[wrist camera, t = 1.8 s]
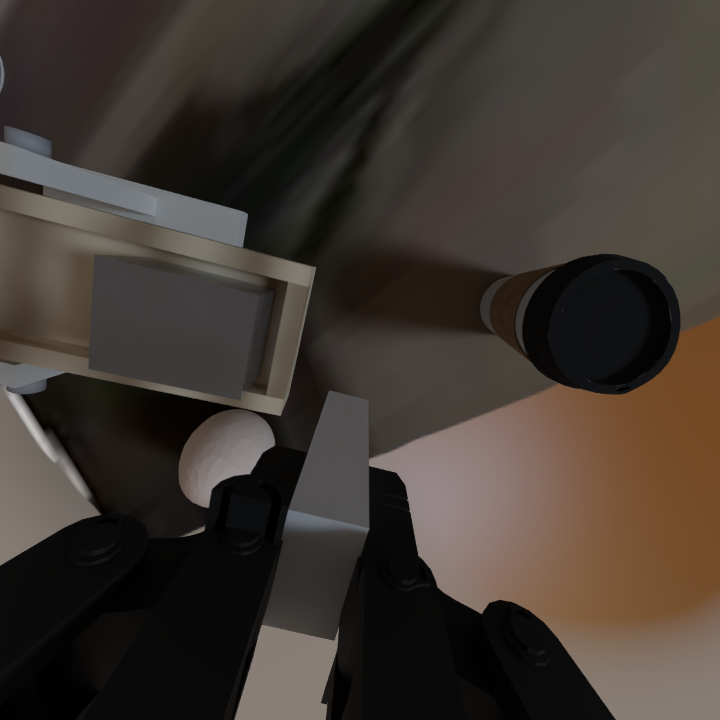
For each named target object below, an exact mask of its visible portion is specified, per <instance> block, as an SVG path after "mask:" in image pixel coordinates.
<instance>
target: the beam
mask: <svg viewBox="0 0 720 720" xmlns="http://www.w3.org/2000/svg"><path fill="white" fill-rule="evenodd" d="M94 255H112V256H130V257H148V258H154V259H158V260H162V261H166V262H170V263H174V264H178V265H182V266H186V267H190V268H194V269H197V270H201V271H205V272H209V273H213V274H217V275H221V276H225V277H229V278H233V279H237V280H241V281H245V282H249V283H253V284H257V285H261V286H265V287H269V288H273V289H276V295H275V300H274V305H273V310H272V316H271V321H270V326H269V332H268V337H267V342H266V347H265V353H264V358H263V363H262V368H261V374H260V375H259V376H258V378H257V379H256V380H255V382H254V383H253V384H252V386H251V387H250V388H249V390H248V391H247V392H246V394H245V395H244V396H243V398H242V399H241V401H240V400H235V399H230V398H225V397H221V396H216V395H211V394H206V393H201V392H196V391H192V390H187V389H182V388H177V387H172V386H167V385H163V384H158V383H153V382H148V381H143V380H138V379H134V378H129V377H124V376H119V375H114V374H109V373H105V372H100V371H95V370H90V369H88V363H89V345H90V327H91V308H92V290H93V272H94ZM315 270H316V267H313V266H310V265H306V264H302V263H298V262H294V261H291V260H287V259H283V258H279V257H275V256H272V255H268V254H264V253H260V252H256V251H253V250H249V249H245V248H241V247H237V246H234V245H230V244H226V243H222V242H218V241H215V240H211V239H207V238H203V237H199V236H196V235H192V234H188V233H184V232H180V231H177V230H173V229H169V228H165V227H161V226H158V225H154V224H150V223H146V222H142V221H139V220H135V219H131V218H127V217H123V216H120V215H116V214H112V213H108V212H104V211H101V210H97V209H93V208H89V207H85V206H82V205H78V204H74V203H70V202H66V201H63V200H59V199H55V198H51V197H47V196H44V195H40V194H36V193H32V192H28V191H25V190H21V189H17V188H13V187H9V186H6V185H2V184H0V359H5V360H9V361H14V362H19V363H24V364H29V365H34V366H39V367H44V368H49V369H54V370H58V371H63V372H68V373H73V374H78V375H83V376H88V377H93V378H98V379H102V380H107V381H112V382H117V383H122V384H127V385H132V386H137V387H142V388H147V389H151V390H156V391H161V392H166V393H171V394H176V395H181V396H186V397H191V398H195V399H200V400H205V401H210V402H215V403H220V404H225V405H230V406H235V407H240V408H244V409H249V410H254V411H259V412H264V413H269V414H274V415H279V416H281V413H282V411H283V408H284V406H285V403H286V400H287V398H288V395H289V391H290V386H291V382H292V377H293V372H294V368H295V363H296V358H297V354H298V349H299V345H300V340H301V335H302V331H303V326H304V321H305V317H306V312H307V307H308V303H309V298H310V294H311V289H312V284H313V280H314V275H315Z"/></svg>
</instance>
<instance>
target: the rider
mask: <svg viewBox="0 0 720 720" xmlns="http://www.w3.org/2000/svg"><path fill="white" fill-rule="evenodd" d="M275 295H276V289H273V288H269V287H265V286H261V285H257V284H253V283H249V282H245V281H241V280H237V279H233V278H229V277H225V276H221V275H217V274H213V273H209V272H205V271H201V270H197V269H194V268H190V267H186V266H182V265H178V264H174V263H170V262H166V261H162V260H158V259H154V258H148V257H130V256H112V255H94V272H93V290H92V308H91V327H90V345H89V363H88V369H90V370H95V371H100V372H105V373H109V374H114V375H119V376H124V377H129V378H134V379H138V380H143V381H148V382H153V383H158V384H163V385H167V386H172V387H177V388H182V389H187V390H192V391H196V392H201V393H206V394H211V395H216V396H221V397H225V398H230V399H235V400H240V401H241V399H242V398H243V396H244V395H245V394H246V392H247V391H248V390H249V388H250V387H251V386H252V384H253V383H254V382H255V380H256V379H257V378H258V376H259V375H260V374H261V368H262V363H263V358H264V353H265V347H266V342H267V337H268V332H269V326H270V321H271V316H272V310H273V305H274V300H275Z"/></svg>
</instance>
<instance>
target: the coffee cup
mask: <svg viewBox="0 0 720 720" xmlns="http://www.w3.org/2000/svg"><path fill="white" fill-rule="evenodd" d="M480 314H481V318H482V320H483V322H484V324H485V325H486V327H487V328H488V329H489V330H491V331H492V332H493V333H495V334H496V335H498V336H499V337H500V338H501V339H503V340H504V341H505V342H506V343H508V344H509V345H510V346H511V347H513V348H514V349H515V350H517V351H518V352H519V353H520V354H522V355H523V356H524V357H525V358H527V359H528V360H529V361H530V362H532V363H533V365H534V366H535V367H536V368H537V370H538V371H540V372H541V373H542V374H544V375H545V376H546V377H548V378H550V379H552V380H554V381H556V382H558V383H560V384H562V385H565V386H568V387H572V388H578V389H583V390H587V391H591V392H595V393H601V394H625V393H627V392H630V391H632V390H634V389H636V388H638V387H640V386H641V385H643V384H645V383H646V382H648V381H650V380H651V379H653V378H654V377H655V376H656V375H657V374H659V373H660V372H661V371H662V369H663V368H664V367H665V366H666V365H667V364H668V362H669V361H670V359H671V357H672V355H673V353H674V351H675V348H676V345H677V342H678V338H679V332H680V309H679V304H678V299H677V297H676V294H675V292H674V289H673V287H672V286H671V284H670V283H669V281H668V280H667V278H666V277H665V276H664V275H663V274H662V273H661V272H660V271H659V270H658V269H656V268H654V267H653V266H651V265H649V264H647V263H645V262H641V261H638V260H634V259H631V258H628V257H624V256H620V255H616V254H599V255H592V256H585V257H581V258H578V259H575V260H573V261H570V262H568V263H565V264H560V265H556V266H551V267H547V268H543V269H539V270H534V271H530V272H526V273H521V274H519V275H513V276H507V277H504V278H501V279H499V280H497V281H496V282H494V283H493V284H492V285H490V286H489V288H488V289H487V290H486V291H485V293H484V295H483V297H482V300H481V304H480Z"/></svg>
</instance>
